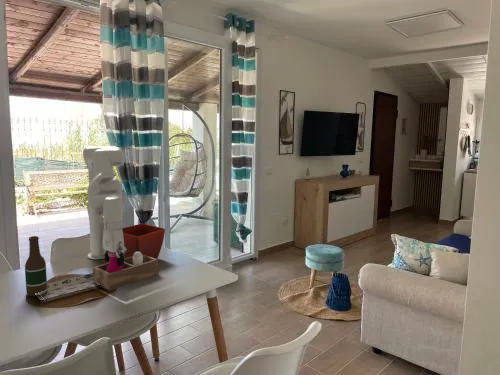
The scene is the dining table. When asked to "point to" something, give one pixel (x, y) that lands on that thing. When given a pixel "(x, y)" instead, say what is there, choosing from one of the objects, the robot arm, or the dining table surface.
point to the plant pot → (143, 240)
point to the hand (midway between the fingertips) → (114, 263)
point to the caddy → (125, 273)
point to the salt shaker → (137, 258)
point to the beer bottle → (35, 269)
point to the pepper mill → (113, 263)
